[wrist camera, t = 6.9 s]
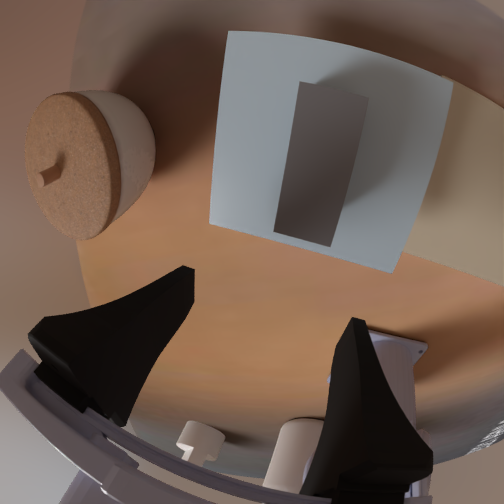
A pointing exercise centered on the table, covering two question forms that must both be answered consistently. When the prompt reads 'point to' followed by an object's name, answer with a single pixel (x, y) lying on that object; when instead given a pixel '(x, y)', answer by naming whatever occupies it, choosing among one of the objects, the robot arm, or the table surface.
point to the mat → (465, 191)
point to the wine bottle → (292, 454)
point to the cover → (324, 145)
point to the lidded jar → (88, 159)
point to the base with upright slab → (200, 442)
